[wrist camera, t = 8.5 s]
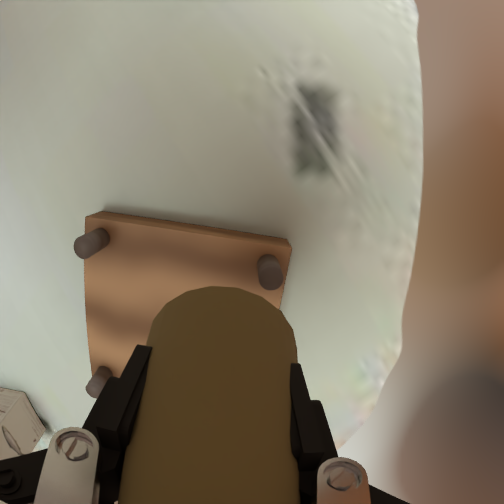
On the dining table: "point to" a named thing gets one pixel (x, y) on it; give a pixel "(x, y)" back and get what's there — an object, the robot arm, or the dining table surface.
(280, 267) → the shelf board
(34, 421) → the supplement box
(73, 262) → the dining table surface
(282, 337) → the brown rounded piece
